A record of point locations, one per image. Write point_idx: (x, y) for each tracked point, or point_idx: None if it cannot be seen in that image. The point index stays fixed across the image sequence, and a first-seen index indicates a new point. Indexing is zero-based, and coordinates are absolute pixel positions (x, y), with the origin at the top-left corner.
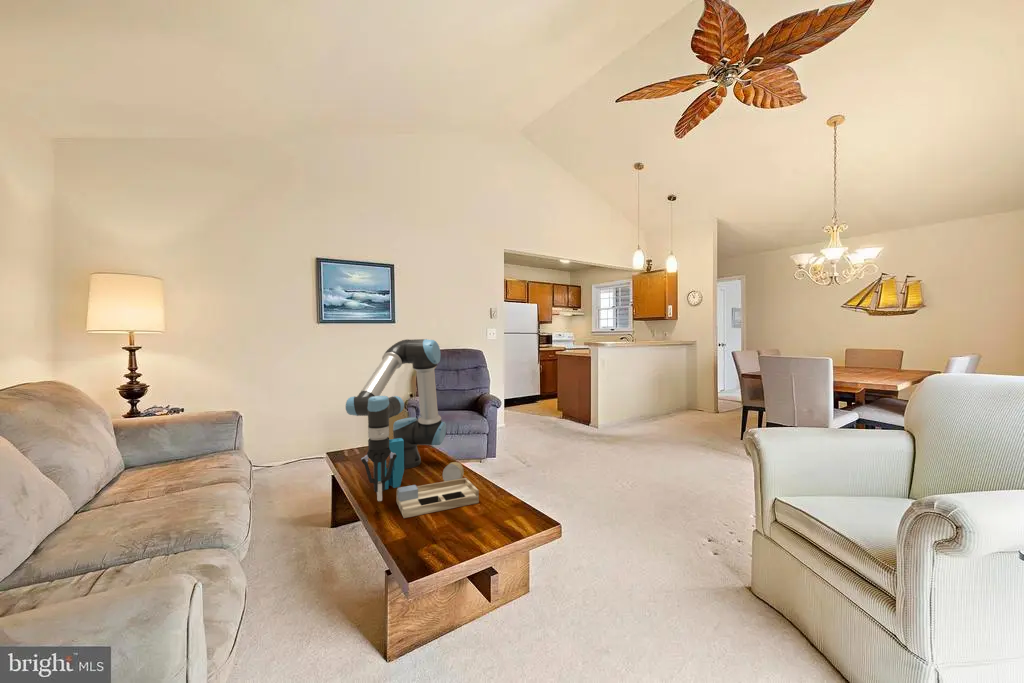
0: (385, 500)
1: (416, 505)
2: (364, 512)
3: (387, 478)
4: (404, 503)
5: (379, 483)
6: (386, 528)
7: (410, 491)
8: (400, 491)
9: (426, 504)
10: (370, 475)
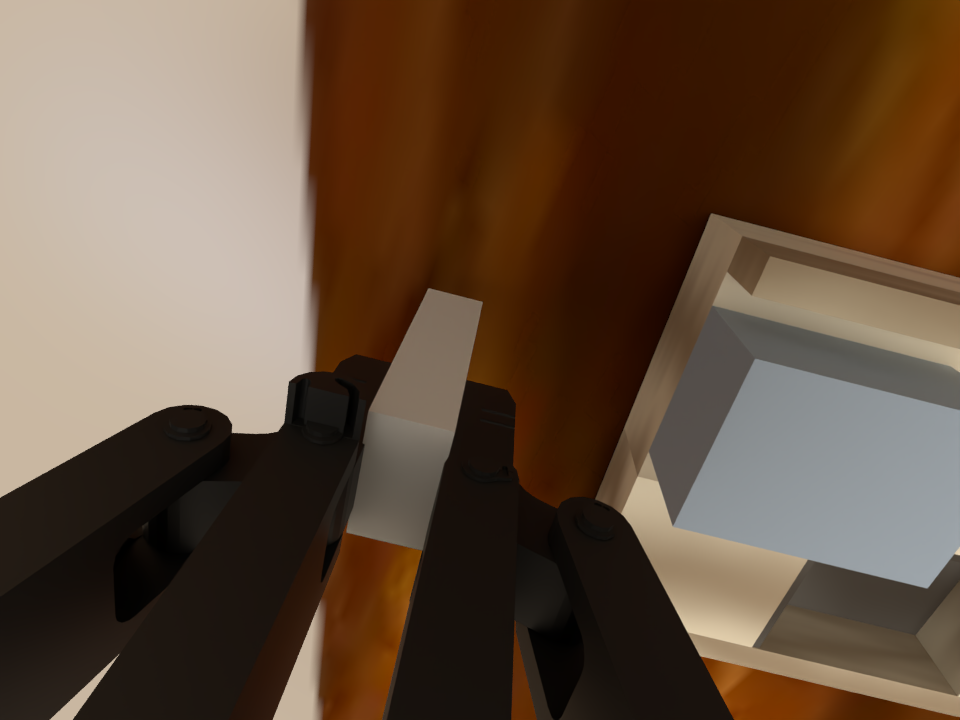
0: (639, 43)
1: (720, 625)
2: (308, 227)
3: (532, 636)
4: (660, 522)
5: (384, 523)
6: (391, 610)
7: (816, 553)
8: (701, 509)
9: (802, 662)
10: (76, 671)
